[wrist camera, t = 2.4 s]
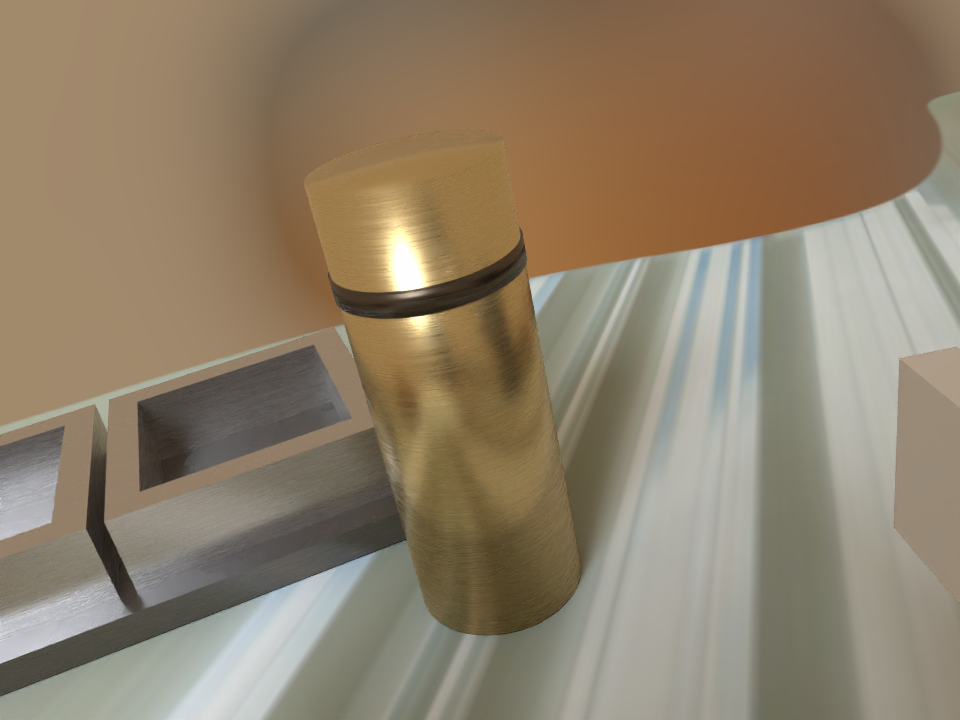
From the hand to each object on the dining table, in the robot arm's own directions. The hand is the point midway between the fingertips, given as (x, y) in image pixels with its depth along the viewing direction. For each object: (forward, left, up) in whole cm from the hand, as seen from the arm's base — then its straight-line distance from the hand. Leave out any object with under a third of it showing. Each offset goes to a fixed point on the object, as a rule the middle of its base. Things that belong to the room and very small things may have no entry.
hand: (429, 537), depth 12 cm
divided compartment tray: (+7, -18, -9) cm, 21 cm away
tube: (-3, -10, -9) cm, 14 cm away
